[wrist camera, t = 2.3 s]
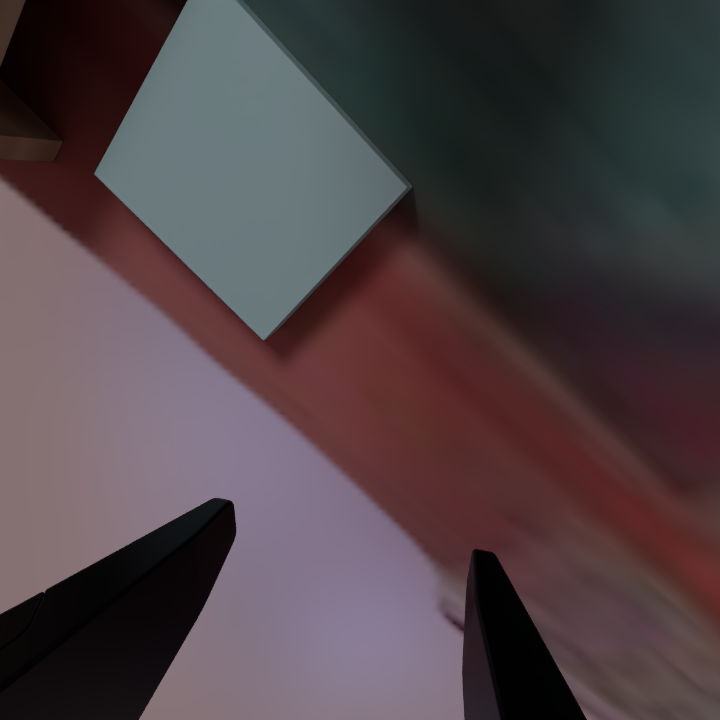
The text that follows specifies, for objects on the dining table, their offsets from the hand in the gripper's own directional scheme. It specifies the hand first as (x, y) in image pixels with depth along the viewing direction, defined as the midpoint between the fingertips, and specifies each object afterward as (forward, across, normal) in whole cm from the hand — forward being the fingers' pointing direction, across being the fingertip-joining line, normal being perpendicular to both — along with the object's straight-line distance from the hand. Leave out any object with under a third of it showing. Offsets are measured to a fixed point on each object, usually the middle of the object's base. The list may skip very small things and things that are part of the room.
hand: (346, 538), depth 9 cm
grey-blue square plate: (+13, +7, -7) cm, 16 cm away
